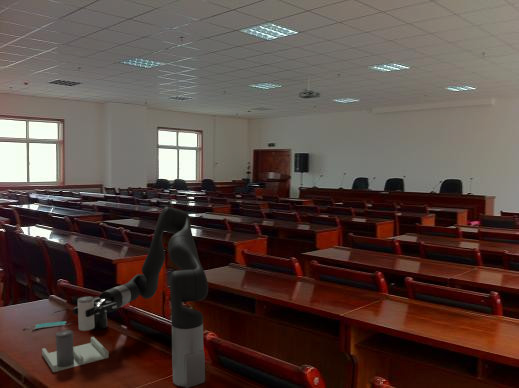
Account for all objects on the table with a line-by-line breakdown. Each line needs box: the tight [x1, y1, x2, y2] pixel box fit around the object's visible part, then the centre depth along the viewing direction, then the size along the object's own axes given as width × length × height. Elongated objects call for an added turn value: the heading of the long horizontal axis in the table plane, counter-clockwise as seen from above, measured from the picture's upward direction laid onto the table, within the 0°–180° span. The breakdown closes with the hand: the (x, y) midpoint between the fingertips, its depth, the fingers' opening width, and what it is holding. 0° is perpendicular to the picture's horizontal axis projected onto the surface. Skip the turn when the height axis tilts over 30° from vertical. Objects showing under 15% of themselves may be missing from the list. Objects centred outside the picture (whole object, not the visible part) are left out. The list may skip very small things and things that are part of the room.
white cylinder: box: [77, 296, 95, 332], centre depth 152 cm, size 5×5×10 cm
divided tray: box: [41, 336, 110, 373], centre depth 150 cm, size 16×17×3 cm
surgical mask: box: [22, 308, 78, 332], centre depth 181 cm, size 21×4×10 cm
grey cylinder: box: [55, 329, 74, 367], centre depth 144 cm, size 5×5×10 cm
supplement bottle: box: [90, 296, 108, 332], centre depth 178 cm, size 7×7×12 cm
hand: (80, 312), depth 149 cm, fingers closed on white cylinder, 5 cm apart
